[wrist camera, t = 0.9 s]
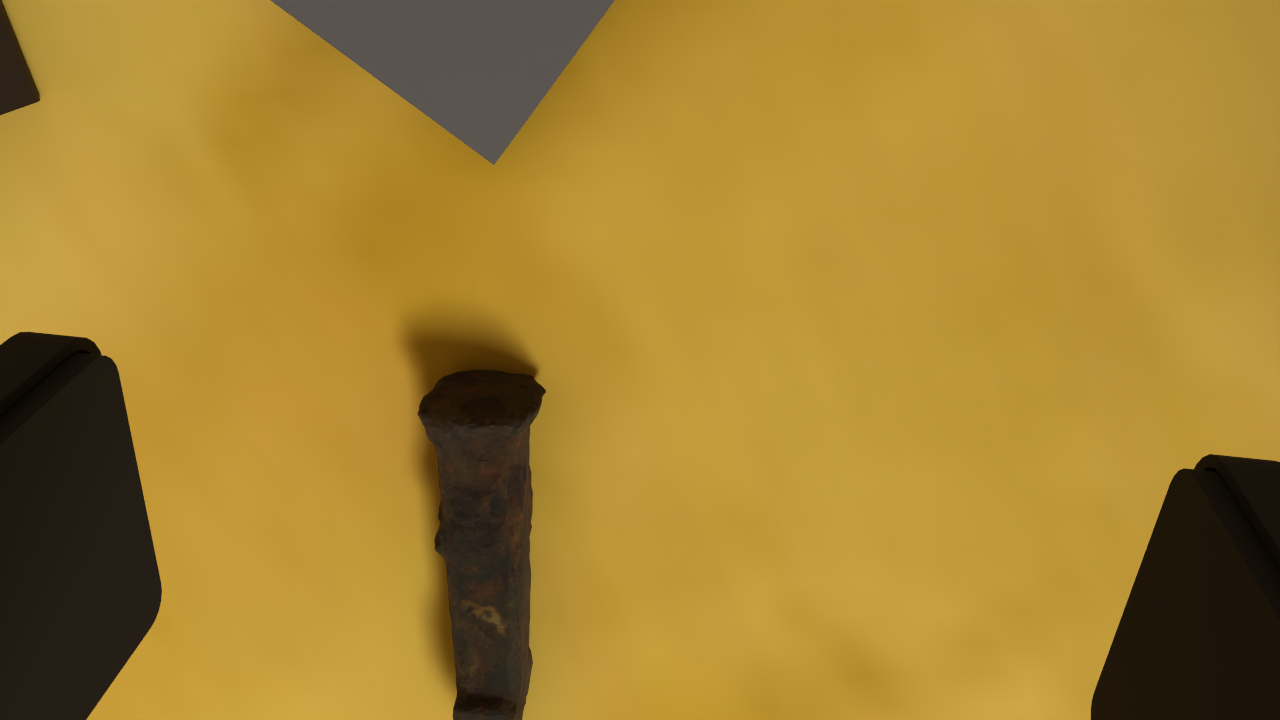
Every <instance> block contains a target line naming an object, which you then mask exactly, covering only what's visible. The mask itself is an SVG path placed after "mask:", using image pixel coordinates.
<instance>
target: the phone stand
mask: <svg viewBox="0 0 1280 720" xmlns="http://www.w3.org/2000/svg"><path fill="white" fill-rule="evenodd" d="M38 101H40V98H39V95H38V93H37V90H36V88H35V85H34V83H33V80H32V78H31V75H30V73H29V70H28V68H27V65H26V63H25V60H24V58H23V56H22V53H21V51H20V48H19V46H18V43H17V41H16V38H15V36H14V33H13V31H12V28H11V26H10V23H9V21H8V18H7V16H6V13H5V11H4V8H3V6H2V3H1V1H0V115H2V114H5V113H8V112H10V111H13V110H16V109H19V108H22V107H24V106H27V105H30V104H33V103H36V102H38Z"/></svg>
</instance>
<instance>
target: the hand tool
mask: <svg viewBox="0 0 1280 720" xmlns="http://www.w3.org/2000/svg"><path fill="white" fill-rule="evenodd" d="M545 392H546V390H545V389H544V388H543V387H542V386H541V385H540V384H538V383H537V382H536V381H535V379H534V378H533V377H532V376H529V375H524V374H508V373H505V372H501V371H486V370H473V371H467V372H457V373H454V374H451V375H448V376H445V377H443V378H442V379H440V380H439V381H438V382H437V384H436V385H435V387H434V389H433V390H432V391H431V392H429V393H428V394H427V395H426V396H424V397H423V399H422V401H421V403H420V406H419V411H418V416H419V417H420V419H421V421H422V424H423V425H424V427H425V429H426V433H427V436H428V438H429V440H430V441H431V442H432V443H433V444H434V446H435V449H436V453H437V457H438V471H439V486H440V491H441V504H440V506H439V515H438V518H439V520H440V527H439V530H438V532H437V534H436V537H435V549H436V551H437V552H438V553H439V554H440V555H441V556H442V557H443V558H444V559H445V561H446V566H447V579H448V590H449V607H450V615H451V621H452V637H453V645H454V655H455V666H456V686H457V698H456V701H455V705H454V708H453V719H454V720H522V716H523V710H524V706H525V704H526V696H527V693H528V688H529V682H530V675H531V669H532V664H533V661H532V655H531V650H530V648H529V622H530V587H531V568H530V560H529V553H530V540H529V536H530V532H531V528H532V526H531V517H532V498H533V492H532V488H531V470H530V466H529V451H530V450H529V436H530V425H531V423H532V422H533V420H534V419H535V417H536V416H537V414H538V412H539V409H540V406H541V403H542V396H543V395H544V394H545Z"/></svg>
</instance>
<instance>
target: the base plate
mask: <svg viewBox="0 0 1280 720" xmlns="http://www.w3.org/2000/svg"><path fill="white" fill-rule="evenodd" d="M271 1H272V2H274V3H275V4H276V5H278V6H279V7H280V8H282V9H283V10H284V11H286V12H287V13H289V14H290V15H291V16H293V17H294V18H295V19H297V20H298V21H299V22H301V23H302V24H303V25H305V26H306V27H308V28H309V29H310V30H312V31H313V32H314V33H316V34H317V35H318V36H320V37H321V38H322V39H324V40H325V41H327V42H328V43H329V44H331V45H332V46H333V47H335V48H336V49H337V50H339V51H340V52H341V53H343V54H344V55H346V56H347V57H348V58H350V59H351V60H352V61H354V62H355V63H356V64H358V65H359V66H360V67H362V68H363V69H365V70H366V71H367V72H369V73H370V74H371V75H373V76H374V77H375V78H377V79H378V80H380V81H381V82H382V83H384V84H385V85H386V86H388V87H389V88H390V89H392V90H393V91H394V92H396V93H397V94H399V95H400V96H401V97H403V98H404V99H405V100H407V101H408V102H409V103H411V104H412V105H413V106H415V107H416V108H418V109H419V110H420V111H422V112H423V113H424V114H426V115H427V116H428V117H430V118H431V119H432V120H434V121H435V122H437V123H438V124H439V125H441V126H442V127H443V128H445V129H446V130H447V131H449V132H450V133H451V134H453V135H454V136H456V137H457V138H458V139H460V140H461V141H462V142H464V143H465V144H466V145H468V146H469V147H470V148H472V149H473V150H475V151H476V152H477V153H479V154H480V155H481V156H483V157H484V158H485V159H487V160H488V161H489V162H491V163H492V164H495V163H496V161H497V160H498V159H499V157H500V156H501V155H502V153H503V152H504V151H505V149H506V148H507V146H508V145H509V144H510V142H511V141H512V140H513V138H514V137H515V136H516V134H517V133H518V131H519V130H520V129H521V127H522V126H523V125H524V123H525V122H526V120H527V119H528V118H529V116H530V115H531V114H532V112H533V111H534V110H535V108H536V107H537V105H538V104H539V103H540V101H541V100H542V99H543V97H544V96H545V95H546V93H547V92H548V90H549V89H550V88H551V86H552V85H553V84H554V82H555V81H556V79H557V78H558V77H559V75H560V74H561V73H562V71H563V70H564V69H565V67H566V66H567V64H568V63H569V62H570V60H571V59H572V58H573V56H574V55H575V54H576V52H577V51H578V49H579V48H580V47H581V45H582V44H583V43H584V41H585V40H586V38H587V37H588V36H589V34H590V33H591V32H592V30H593V29H594V28H595V26H596V25H597V23H598V22H599V21H600V19H601V18H602V17H603V15H604V14H605V13H606V11H607V10H608V8H609V7H610V6H611V4H612V3H613V2H614V0H271Z"/></svg>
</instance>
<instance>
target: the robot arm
mask: <svg viewBox="0 0 1280 720" xmlns="http://www.w3.org/2000/svg"><path fill="white" fill-rule="evenodd" d="M161 594H162V589H161V581H160V576H159V571H158V566H157V561H156V556H155V551H154V546H153V541H152V536H151V531H150V526H149V521H148V516H147V511H146V506H145V501H144V496H143V491H142V486H141V481H140V476H139V471H138V466H137V462H136V457H135V452H134V447H133V442H132V437H131V432H130V427H129V422H128V417H127V412H126V407H125V402H124V397H123V392H122V387H121V382H120V377H119V373H118V370H117V366H116V364H115V363H114V361H113V360H112V359H111V358H109V357H107V356H102V355H101V352H100V350H99V349H98V347H97V346H96V344H95V343H94V342H93V341H91V340H89V339H87V338H82V337H73V336H63V335H53V334H44V333H34V332H20V333H18V334H16V335H14V336H12V337H10V338H9V339H8V340H7V341H5V342H4V343H3V344H1V345H0V720H86V719H87V718H88V716H89V715H90V713H91V712H92V711H93V709H94V708H95V706H96V705H97V703H98V702H99V701H100V699H101V698H102V696H103V695H104V693H105V692H106V691H107V689H108V688H109V686H110V685H111V684H112V682H113V681H114V679H115V678H116V676H117V675H118V674H119V672H120V671H121V669H122V668H123V666H124V665H125V664H126V662H127V661H128V659H129V658H130V656H131V655H132V654H133V652H134V651H135V649H136V648H137V647H138V645H139V644H140V642H141V641H142V639H143V638H144V637H145V635H146V634H147V632H148V631H149V629H150V628H151V626H152V625H153V623H154V621H155V619H156V616H157V614H158V611H159V607H160V603H161ZM1091 720H1280V462H1277V461H1270V460H1261V459H1251V458H1241V457H1232V456H1222V455H1212V454H1210V455H1207V456H1205V457H1203V458H1202V459H1201V460H1200V461H1199V462H1198V463H1197V464H1196V466H1195V468H1194V469H1182V470H1179V471H1178V472H1177V473H1176V474H1175V476H1174V477H1173V479H1172V481H1171V483H1170V486H1169V489H1168V491H1167V494H1166V497H1165V500H1164V502H1163V505H1162V508H1161V511H1160V513H1159V516H1158V519H1157V522H1156V524H1155V527H1154V530H1153V533H1152V535H1151V538H1150V541H1149V543H1148V546H1147V549H1146V552H1145V554H1144V557H1143V560H1142V563H1141V565H1140V568H1139V571H1138V574H1137V576H1136V579H1135V582H1134V585H1133V587H1132V590H1131V593H1130V596H1129V598H1128V601H1127V604H1126V607H1125V609H1124V612H1123V615H1122V618H1121V620H1120V623H1119V626H1118V629H1117V631H1116V634H1115V637H1114V640H1113V642H1112V645H1111V648H1110V651H1109V653H1108V656H1107V659H1106V661H1105V664H1104V667H1103V670H1102V672H1101V675H1100V678H1099V681H1098V683H1097V686H1096V689H1095V692H1094V695H1093V699H1092V706H1091Z"/></svg>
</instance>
